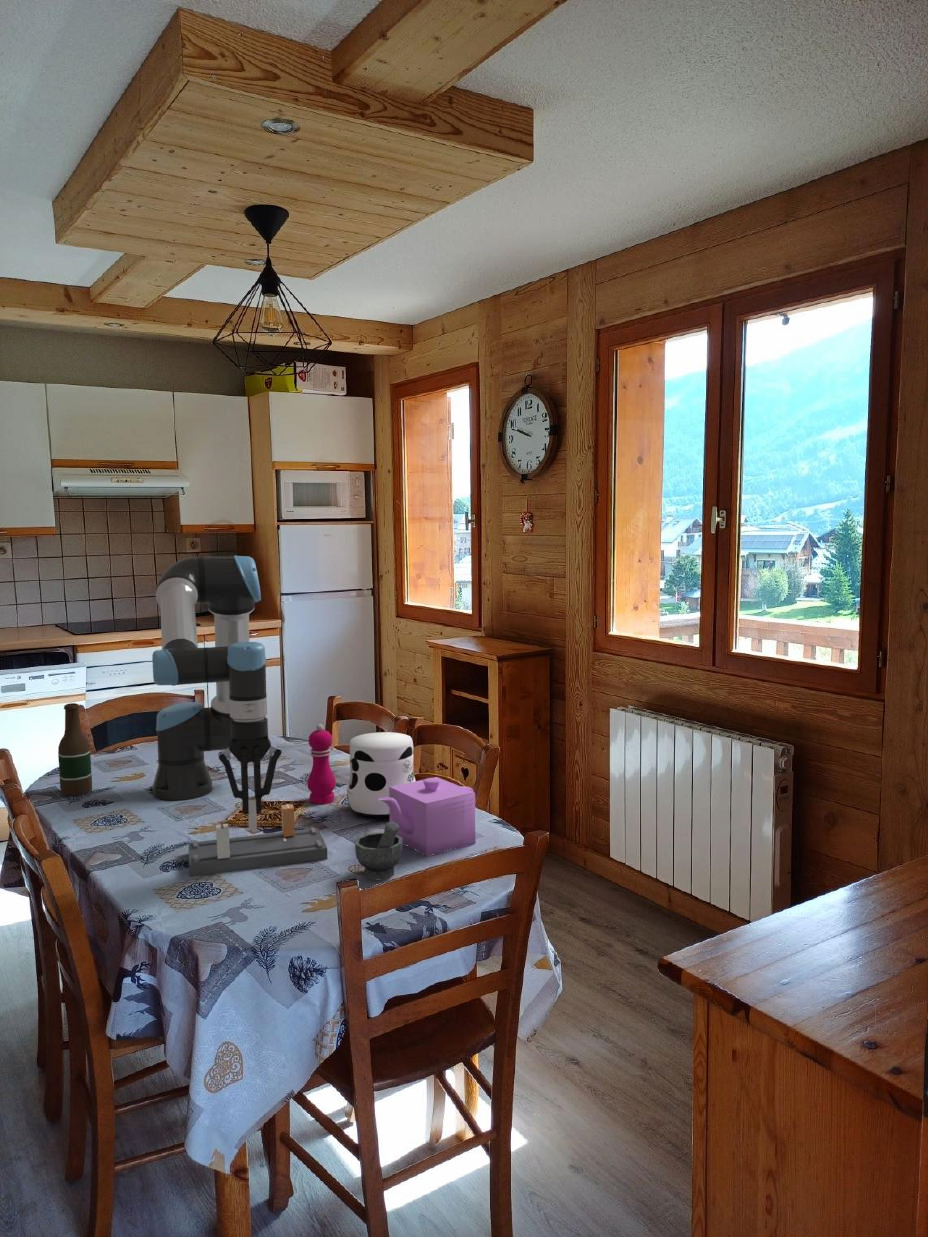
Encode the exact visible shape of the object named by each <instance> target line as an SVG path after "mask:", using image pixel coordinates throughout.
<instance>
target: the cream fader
mask: <svg viewBox="0 0 928 1237" xmlns="http://www.w3.org/2000/svg"><path fill="white" fill-rule="evenodd" d="M215 833H216V835H215V836H216V840H217V856H218V859H222V858H230V846H229V838H230V827H229V823H222V824H221V823H220V824H216V825H215Z"/></svg>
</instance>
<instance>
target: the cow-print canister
mask: <svg viewBox="0 0 928 1237" xmlns="http://www.w3.org/2000/svg"><path fill="white" fill-rule="evenodd" d="M349 770H350V771H349V773H350V774H349V781H348V782H347V783H348V784H347V789H346V796H347V803H348V805H349V808H350V810H352V811H353V812H355V813H356V814H358V815H360V816H361V815H362V816H366V817H372V818H373V817H374V818H386V817H390V809H389V806H388V805H387V804H386V803H385V802H383V801H380V800H378V799H380V798H384V797H389V787H392V786H397V785H401V784H406V783H410V782H415V781H417V780H416V778H415V773H414V772H415V771H414V743H413V738H412V737H411V736H410V735H407V734H405V733H400V732H389V731H387V732H385V731H383V732H382V731H381V732H369V733H363V734H360V735H359V734H358V735H356V736H354V737H352V738H351V739H350V741H349Z"/></svg>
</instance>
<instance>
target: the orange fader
mask: <svg viewBox="0 0 928 1237" xmlns="http://www.w3.org/2000/svg"><path fill="white" fill-rule="evenodd" d="M280 807H281V832H282V833H283V836H284V837H287V836H295V831H296V830H295V828H296V827H295V826H296V824H295V806H294V805H293V803H291V804H289V803H287V804H281V805H280Z"/></svg>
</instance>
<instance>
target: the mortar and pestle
mask: <svg viewBox="0 0 928 1237" xmlns="http://www.w3.org/2000/svg"><path fill="white" fill-rule="evenodd" d="M398 830H399V826H398V825H397V823H395V822H390V821H388V822H386V823H385V826H384V831H383V832H375V833H374V832H373V833H367V834H364V835H362V836H359V837H357V838H356V839H355V842H354V852H355V857H356V859H357V861H358V863H359V864H360V865H361V866H362V867H363V868H364V877H366V878H367V879H369V880H376V879H381V880H387V879H389V878H391V877H393V876H395V866H396V865H397V864H398V863H399V861H400V859H401V858H402V851H403V843H402V837H400V836H398V835H396V833H397V832H398ZM386 878H387V879H386Z"/></svg>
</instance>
